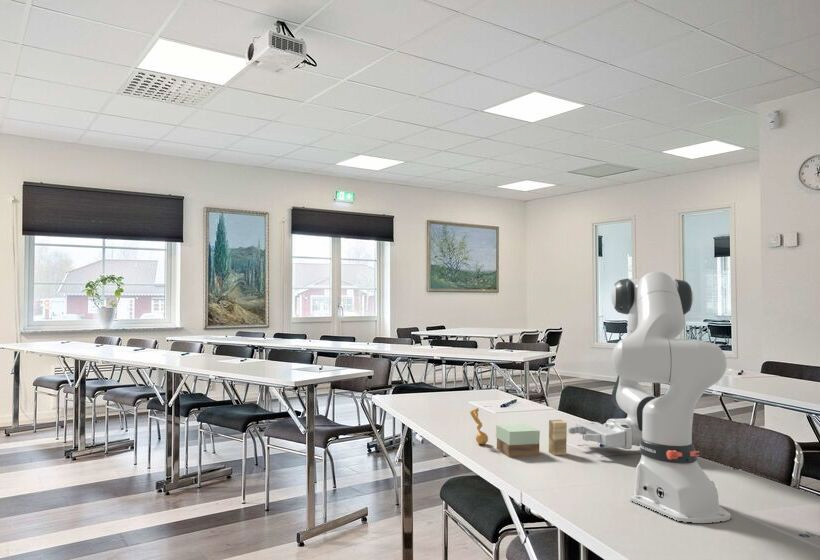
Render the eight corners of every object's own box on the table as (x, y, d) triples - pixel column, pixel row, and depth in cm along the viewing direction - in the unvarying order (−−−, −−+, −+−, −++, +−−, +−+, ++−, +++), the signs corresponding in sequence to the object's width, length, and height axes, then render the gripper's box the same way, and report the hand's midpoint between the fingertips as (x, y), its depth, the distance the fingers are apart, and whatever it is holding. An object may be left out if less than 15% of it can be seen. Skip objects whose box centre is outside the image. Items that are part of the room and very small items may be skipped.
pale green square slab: (539, 443, 183) (539, 430, 183) (509, 445, 180) (509, 431, 180) (524, 436, 192) (524, 423, 193) (496, 437, 190) (496, 424, 190)
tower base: (539, 457, 182) (539, 443, 182) (508, 458, 180) (508, 445, 180) (525, 448, 192) (526, 436, 192) (496, 449, 190) (496, 437, 190)
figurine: (491, 447, 191) (491, 410, 192) (472, 447, 190) (473, 410, 191) (484, 441, 199) (485, 405, 200) (466, 441, 199) (467, 405, 199)
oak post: (566, 455, 184) (566, 422, 184) (554, 455, 183) (554, 422, 184) (560, 451, 188) (560, 419, 188) (548, 452, 187) (549, 420, 188)
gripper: (599, 416, 200) (561, 417, 197) (634, 429, 180) (592, 430, 177) (599, 435, 200) (561, 436, 197) (634, 450, 180) (592, 452, 177)
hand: (576, 433), depth 187 cm, fingers open, 8 cm apart
